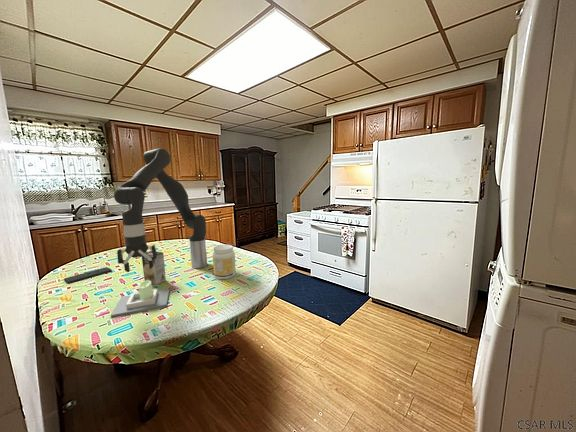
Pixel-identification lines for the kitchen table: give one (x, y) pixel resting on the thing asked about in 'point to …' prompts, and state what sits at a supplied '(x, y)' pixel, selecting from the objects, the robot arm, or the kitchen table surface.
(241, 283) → the kitchen table surface
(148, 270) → the coffee box
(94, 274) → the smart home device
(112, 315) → the holder board
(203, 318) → the kitchen table surface
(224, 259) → the supplement tub
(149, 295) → the candle
